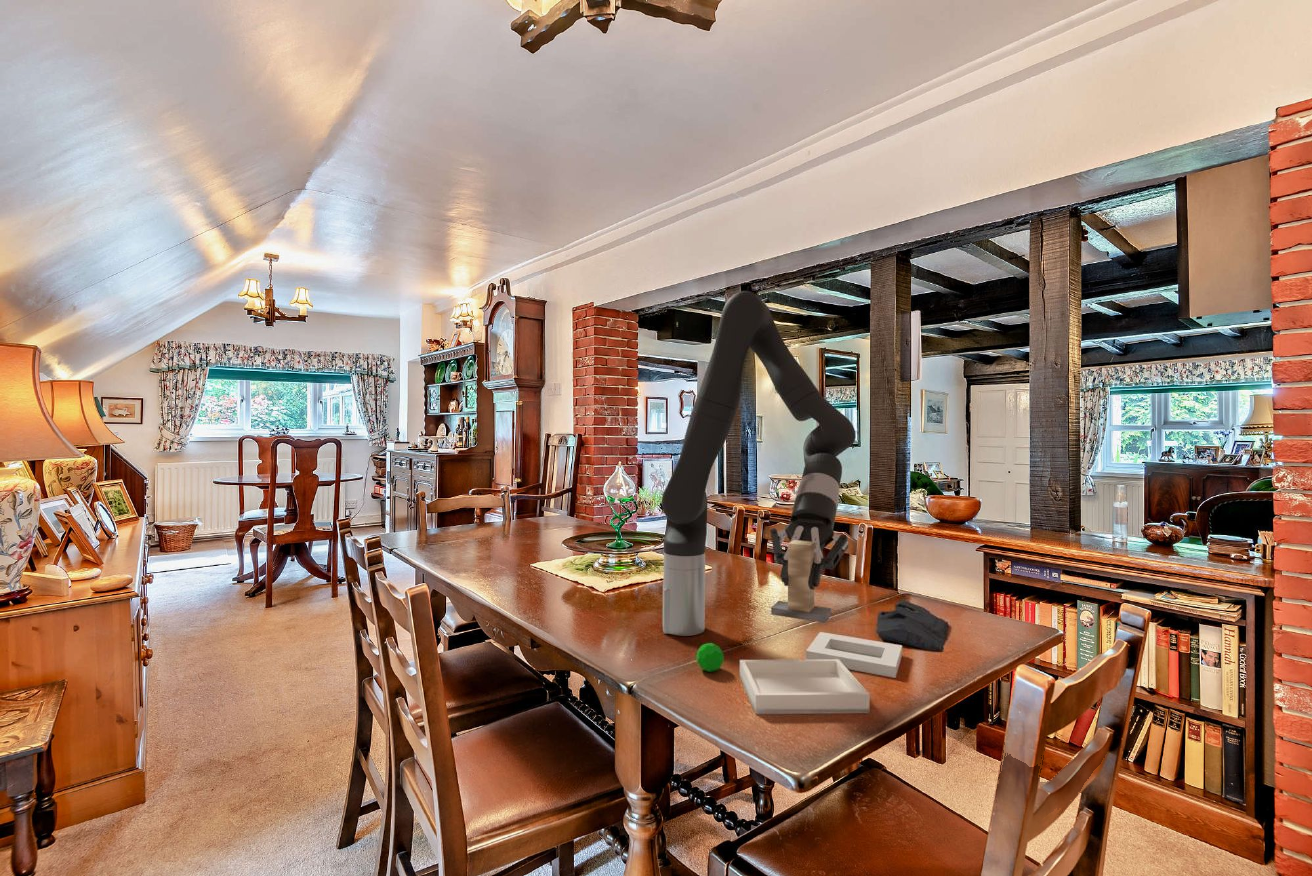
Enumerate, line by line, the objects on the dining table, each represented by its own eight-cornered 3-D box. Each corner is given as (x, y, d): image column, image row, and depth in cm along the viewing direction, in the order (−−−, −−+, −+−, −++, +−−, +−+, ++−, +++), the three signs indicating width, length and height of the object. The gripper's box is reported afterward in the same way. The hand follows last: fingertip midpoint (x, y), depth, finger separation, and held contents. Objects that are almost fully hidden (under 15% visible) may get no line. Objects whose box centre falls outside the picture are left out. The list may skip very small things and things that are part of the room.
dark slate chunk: (864, 642, 124) (864, 620, 124) (880, 614, 143) (880, 595, 143) (944, 656, 117) (945, 632, 117) (950, 624, 136) (950, 604, 136)
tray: (755, 714, 91) (755, 695, 91) (739, 676, 105) (739, 659, 105) (869, 713, 92) (869, 694, 92) (838, 675, 106) (838, 659, 106)
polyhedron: (690, 669, 108) (691, 644, 108) (708, 662, 112) (708, 637, 112) (711, 678, 105) (711, 651, 105) (728, 670, 108) (729, 644, 108)
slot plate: (806, 661, 113) (806, 650, 113) (819, 641, 123) (820, 631, 123) (895, 678, 105) (895, 667, 105) (902, 655, 116) (902, 645, 116)
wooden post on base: (771, 614, 99) (771, 542, 99) (778, 607, 103) (779, 538, 102) (825, 623, 95) (826, 547, 94) (831, 615, 98) (831, 543, 98)
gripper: (774, 488, 108) (752, 567, 98) (853, 492, 102) (839, 578, 91) (781, 513, 113) (761, 591, 102) (858, 519, 106) (845, 603, 96)
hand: (798, 584), depth 97 cm, fingers closed on wooden post on base, 3 cm apart
